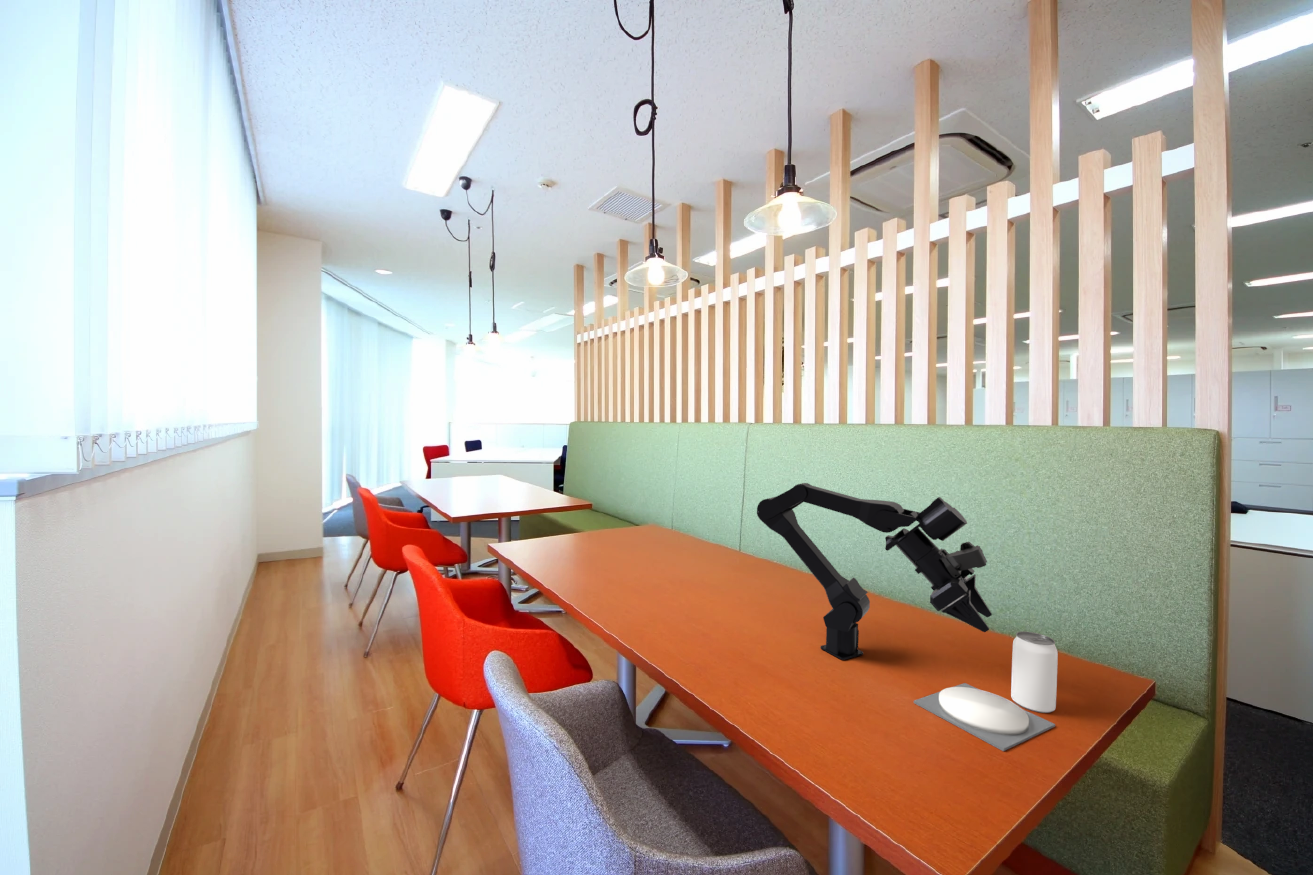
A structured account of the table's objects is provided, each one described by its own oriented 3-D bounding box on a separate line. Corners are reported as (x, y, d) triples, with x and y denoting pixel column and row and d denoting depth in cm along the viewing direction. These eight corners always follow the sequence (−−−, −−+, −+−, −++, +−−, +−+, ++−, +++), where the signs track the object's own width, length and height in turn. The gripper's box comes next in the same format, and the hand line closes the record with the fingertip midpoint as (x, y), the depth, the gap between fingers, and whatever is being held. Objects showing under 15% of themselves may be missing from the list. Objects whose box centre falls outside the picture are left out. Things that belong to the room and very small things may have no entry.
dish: (1003, 751, 77) (1003, 742, 77) (913, 702, 91) (913, 695, 91) (1055, 726, 84) (1055, 718, 84) (964, 684, 97) (964, 677, 97)
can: (1002, 694, 94) (1004, 630, 94) (1034, 694, 95) (1037, 630, 94) (1030, 714, 88) (1033, 645, 87) (1065, 713, 88) (1068, 645, 88)
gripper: (952, 538, 90) (1027, 614, 84) (963, 523, 105) (1027, 586, 99) (903, 574, 95) (970, 648, 89) (919, 555, 110) (978, 617, 104)
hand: (988, 623), depth 95 cm, fingers open, 9 cm apart
